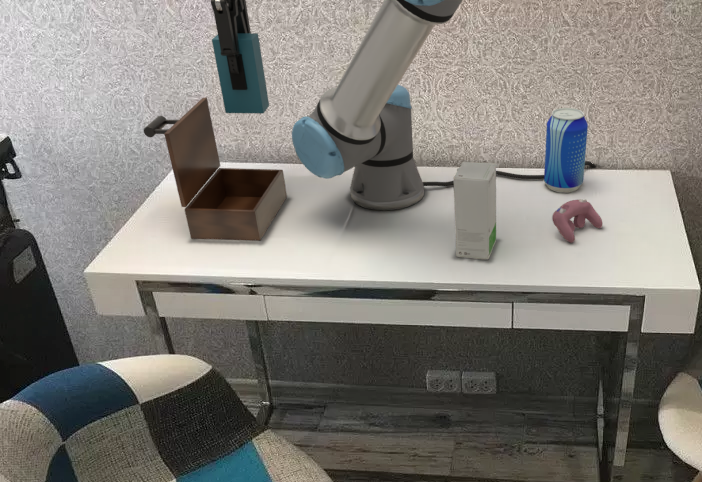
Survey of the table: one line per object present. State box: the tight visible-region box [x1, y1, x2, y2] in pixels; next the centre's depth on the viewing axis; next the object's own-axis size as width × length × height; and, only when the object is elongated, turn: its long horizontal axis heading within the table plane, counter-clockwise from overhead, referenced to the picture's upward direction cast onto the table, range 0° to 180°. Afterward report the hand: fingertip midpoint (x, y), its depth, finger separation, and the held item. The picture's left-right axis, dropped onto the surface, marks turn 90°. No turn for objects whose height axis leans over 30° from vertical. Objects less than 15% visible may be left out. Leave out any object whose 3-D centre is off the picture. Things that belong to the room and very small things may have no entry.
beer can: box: [543, 107, 589, 194], centre depth 165 cm, size 8×8×16 cm
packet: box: [211, 32, 270, 115], centre depth 152 cm, size 8×5×14 cm, turn 89°
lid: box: [143, 97, 221, 208], centre depth 149 cm, size 14×19×8 cm
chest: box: [184, 167, 288, 242], centre depth 154 cm, size 13×19×7 cm
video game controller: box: [551, 198, 603, 244], centre depth 151 cm, size 10×5×7 cm, turn 135°
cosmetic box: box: [452, 161, 497, 260], centre depth 142 cm, size 8×7×16 cm
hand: (243, 84), depth 154 cm, fingers closed on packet, 5 cm apart
